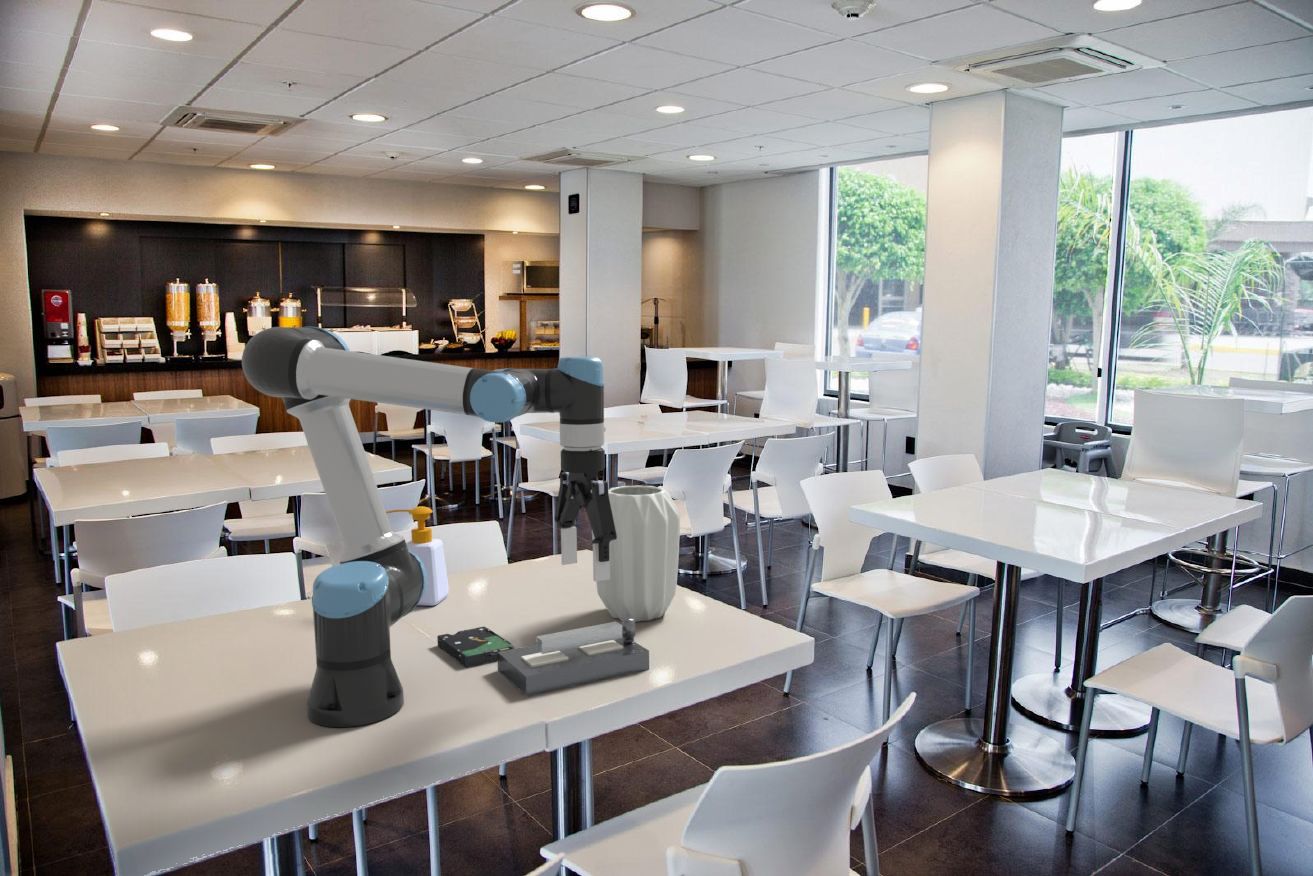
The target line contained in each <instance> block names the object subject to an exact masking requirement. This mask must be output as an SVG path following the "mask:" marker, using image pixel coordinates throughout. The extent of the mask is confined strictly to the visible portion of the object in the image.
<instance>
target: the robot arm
mask: <svg viewBox="0 0 1313 876" xmlns="http://www.w3.org/2000/svg"><path fill="white" fill-rule="evenodd" d="M241 366H242V372H243V374H244V376H245V379H246V380H247V381H248V383H249V384H250V385H251V386H252V387H253V389H255V390H257V391H258V392H260V393H262V394H264V395H265V396H268V397H272V398H281V399H282V402H283V405H284V407H285V410H286V413H287V414H289V415H291V416H293V417H295V418H297V420H299V423H300V426H301V428H302V432H303V435H304V437H305V439H306V443H307V445H308V448H309V451H310V454H311V456H312V459H313V461H314V464H315V465H314V466H315V469H316V470H317V473H318V474H317V475H318V477H319V480H320V482H321V484H322V487H323V490H324V493H325V496H326V498H327V499H326V500H327V502H328V506H329V507H330V510H331V513H332V516H333V518H334V522H335V524H336V525H335V526H336V528H337V530H338V534H339V537H340V539H341V542H342V546H343V551H342V553H341V555H340V557H339V559H338V561H339V564H340V565H333V566H331V567H328V568H326V569H325V570H323V571H322V572H320V573H319V574H318V575H317V576H316V577H315V579H314V581H313V583H312V596H311V606H312V613H313V614H312V615H313V628H314V630H313V631H314V643H315V644H314V645H315V646H314V647H315V658H316V669H315V673H314V676H313V680H312V684H311V688H310V689H309V690H310V691H309V694H308V697H307V701H306V702H307V703H306V706H307V707H306V708H307V717H308V719H309V720H310V721H311V722H312V723H314V724H317V725H319V726H324V727H330V728H331V727H332V728H333V727H334V728H348V727H349V728H350V727H357V726H358V727H359V726H363V725H369V724H373V723H376V722H379V721H382V720H385V719H387V718H389V717H391V716H393V715H395V714H397V713H398V712H400V710H401V709H402V708H403V706H404V704H405V698H404V697H405V696H404V687H403V685H402V683H401V680H400V678H399V675H398V673H397V670H396V668H395V665H394V663H393V661H392V654H391V653H392V651H391V634H390V633H391V631H390V630H391V629H390V627H392V626H393V625H395V624H396V623H397V622H398V621H399V620H401V619H402V618H403V617H406V616H407V615H408V614H409V613H411V612H413V610H414V609H415V608H416V607H417V606H418V605H417V604H418V603H419V602H420V600H421V599H422V597H423V595H424V593H425V590H426V586H427V573H426V569H425V567H424V564H423V563H422V561H421V560H420V558H419V557H418V556H417V555H416V554H413V553H412V552H410V551H409V550H408V547H407V545H406V543H407V542H406V539H405V538H404V536H403V535H400V534H398V533H396V532H394V531H393V528H392V526H391V523H390V521H389V520H390V519H389V517H388V515H387V514H388V513H386V511H387V510H386V508H385V506H384V502H383V500H382V497H381V493H380V492H379V489H378V486H377V482H376V480H375V477H374V474H373V472H372V468H371V465H370V463H369V460H368V456H367V454H366V451H365V449H364V446H363V445H364V444H363V443H362V439H361V437H360V434H359V431H358V428H357V425H356V423H355V420H354V417H353V413H352V411H351V408H350V402H351V400H358V401H364V402H372V403H379V404H383V405H384V404H387V405H393V406H401V407H408V408H415V409H423V410H429V411H434V412H435V411H436V412H442V413H451V414H459V415H463V416H464V415H466V416H470V417H475V418H476V417H477V418H481V419H482V420H484V421H486V422H488V423H506V422H510V421H512V420H513V419H515V418H517V417H520V416H523V415H526V414H540V413H541V414H544V413H546V414H548V413H550V414H555V413H558V414H559V445H560V447H563V448H562V449H561V450H560V469H561V471H563V472H560V473H559V488H558V495H557V502H556V506H555V513H554V521H555V523H558V526H559V528H560V547H561V548H560V549H561V553H560V554H561V565H562V566H566V565H573V564H577V563H578V542H577V539H578V538H577V536H578V535H577V533H578V532H577V529H578V528H577V527H576V526H577V525H578V523H577V521H576V520H577V516H578V514H579V511H580V508H581V507H582V508H584V509H585V512H586V514H587V518H588V520H589V525H590V527H591V532H592V531H593V534H594V537H595V539H594V540H592V541H591V543H592V568H593V569H592V571H593V572H592V573H593V576H592V577H593V579H592V580H593V582H596V581H602V580H608V579H610V553H609V542H610V541H612V540H616V539H617V535H616V530H615V525H614V520H613V515H612V510H611V505H610V500H609V495H608V490H609V483H608V480H603V481H602V480H601V481H600V480H599V478H598V473H599V472H601V471H603V470H605V467H606V455H605V454H606V451H605V449H604V448H603V447H602V446H604V445H605V432H606V427H605V382H604V371H603V370H604V369H603V362H602V360H601V359H600V358H599V357H598V356H597V357H596V356H563V357H560V358H559V360H558V365H557V367H556V368H513V367H509V368H502V369H501V368H499V369H494V370H490V369H484V368H474V367H467V366H459V365H452V364H445V363H437V362H432V361H425V360H424V361H423V360H417V359H409V358H401V357H395V356H389V355H388V356H386V355H380V354H375V353H374V354H373V353H365V352H360V351H359V352H358V351H352V350H350V348H349V346H348V344H347V343H346V342H345V341H344V340H343V339H342V337H340V336H339V335H337V334H336V333H334V332H333V331H331V330H328V329H325V328H321V327H317V326H312V325H311V326H310V325H309V326H308V325H307V326H297V327H290V326H289V327H287V326H286V327H285V326H274V327H270V328H269V327H268V328H265V329H263V330H261V331H259V332H257V333H255V334H254V335H253V336H252V337H251V338H250V339H249V340H248V341H247V343H246V344H245V347H244V348H243V351H242V355H241Z"/></svg>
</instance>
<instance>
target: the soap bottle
mask: <svg viewBox="0 0 1313 876" xmlns="http://www.w3.org/2000/svg"><path fill="white" fill-rule="evenodd" d="M385 511H386V514H391V513H397V512H398V513H399V512H400V513H402V512H407V513H408V514H409V515H412V520H413V521H417V527H415V528H412V529H411V533H410V534H411V540H409V541H407V542H406V545H407V547H408V550H409V551H410V552H412V553H413V554H416V555H417V556H418V557H419V558H420V560H421V561H422V563H423V564H424V567H425V569H426V573H427V586H426V590H425V593H424V595H423V597H422V599H421V600H420V602H419V603H418V604H417V606H426V607H427V606H429V607H430V606H431V607H433V606H436V605H438V604H439V603H441V602H442V601H443V600H445V599H446V598H447V597H448V596H449V594H450V587H449V581H448V573H447V572H448V571H447V564H446V557H445V551H444V544H443V540H442V539H439V538H433V529H432V528H431V527H426V522H425V521H426V520H429V519H431V518H430V517H431V516H430V514H432V513H433V510H432V509H431V508H429V507H427V506H423V505H421V506H416V507H413V508H412V509H393V510H385Z"/></svg>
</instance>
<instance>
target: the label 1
mask: <svg viewBox="0 0 1313 876" xmlns="http://www.w3.org/2000/svg"><path fill="white" fill-rule="evenodd" d="M521 659H522V660H524V661H525V662H526V663H527V664H528V665H530V666H531V667H536V666H541V665H545V664H550V663H555V662H560V661H565V660H569V658H568V657H567V656H566V655H564V654H563V653H562V652H560V651H556V652H551V653H546V654H541V653H536V654H531V655H526V656H521Z"/></svg>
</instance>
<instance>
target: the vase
mask: <svg viewBox="0 0 1313 876" xmlns="http://www.w3.org/2000/svg"><path fill="white" fill-rule="evenodd" d="M608 495H609V500H610V505H611V510H612V515H613V520H614V525H615V530H616V535H617V539H616V540H612V541H610V542H609V553H610V579H608V580H602V581H595V582H596V592H597V595H598V597H599V599H600V600H601V602H602V603H603V605H604V606H605V608H606V609H607V611H608V613H609V615H611V618H614V619H619V620H620V621H622V618H624V617H633V618H635V623H637V622H649V621H650V622H651V621H652V620H655V619H660V618H661V617H663V616H662V615H665V614H666V612H667V611H668V609H669V607H670V605H671V603H672V601H673V599H674V598H675V595H676V590H677V583H678V571H679V555H680V539H681V538H680V536H681V512H680V511H679V509H678V507H677V505H676V503H675V501H674V500H673V498H672V496H671V494H670V492H669V491H668V490H666V489H665V487H658V486H654V485H622V486H618V487H610V488H609V489H608ZM591 536H592V537H591V538H592V541H593V540H594V539H595V537H594V534H593V531H592V530H591Z"/></svg>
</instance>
